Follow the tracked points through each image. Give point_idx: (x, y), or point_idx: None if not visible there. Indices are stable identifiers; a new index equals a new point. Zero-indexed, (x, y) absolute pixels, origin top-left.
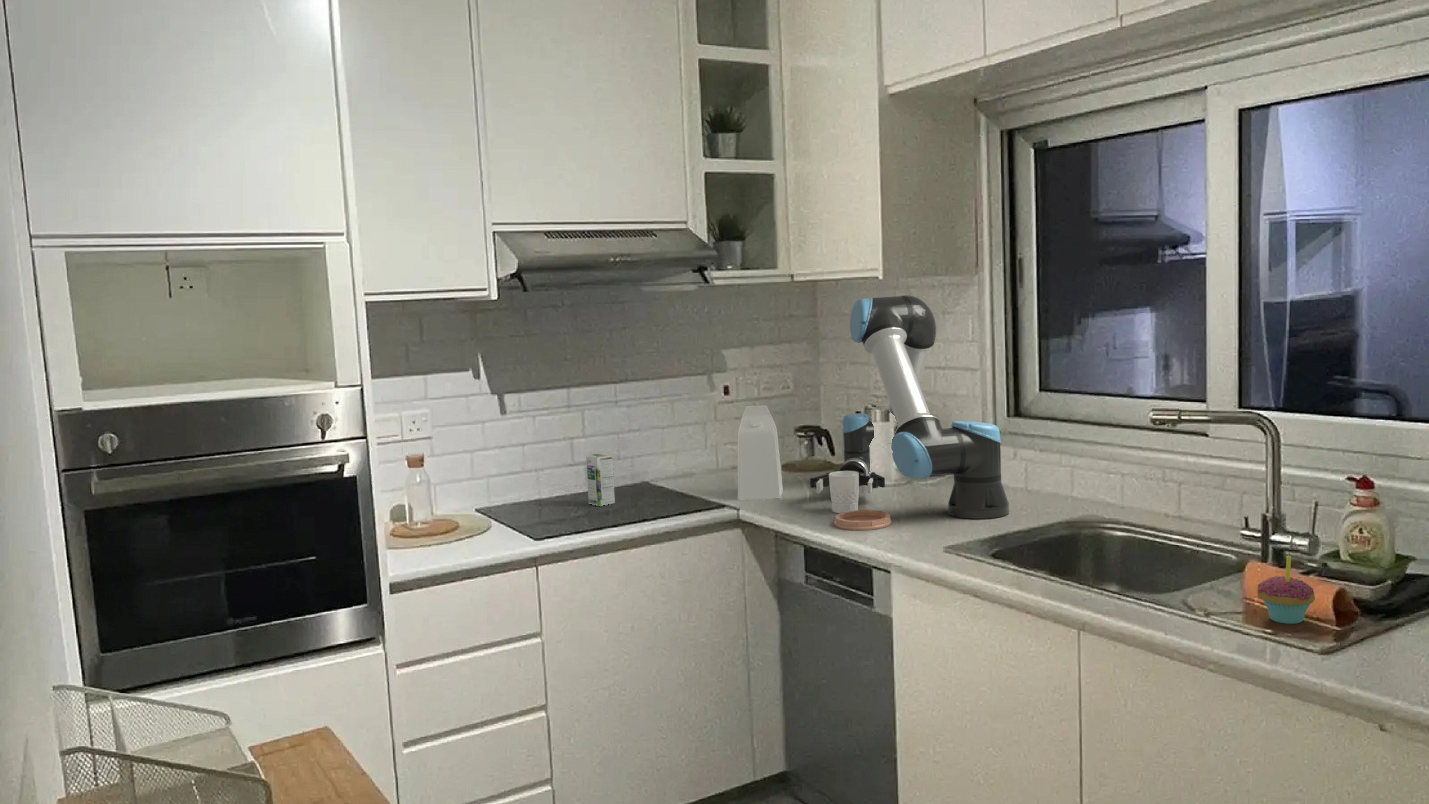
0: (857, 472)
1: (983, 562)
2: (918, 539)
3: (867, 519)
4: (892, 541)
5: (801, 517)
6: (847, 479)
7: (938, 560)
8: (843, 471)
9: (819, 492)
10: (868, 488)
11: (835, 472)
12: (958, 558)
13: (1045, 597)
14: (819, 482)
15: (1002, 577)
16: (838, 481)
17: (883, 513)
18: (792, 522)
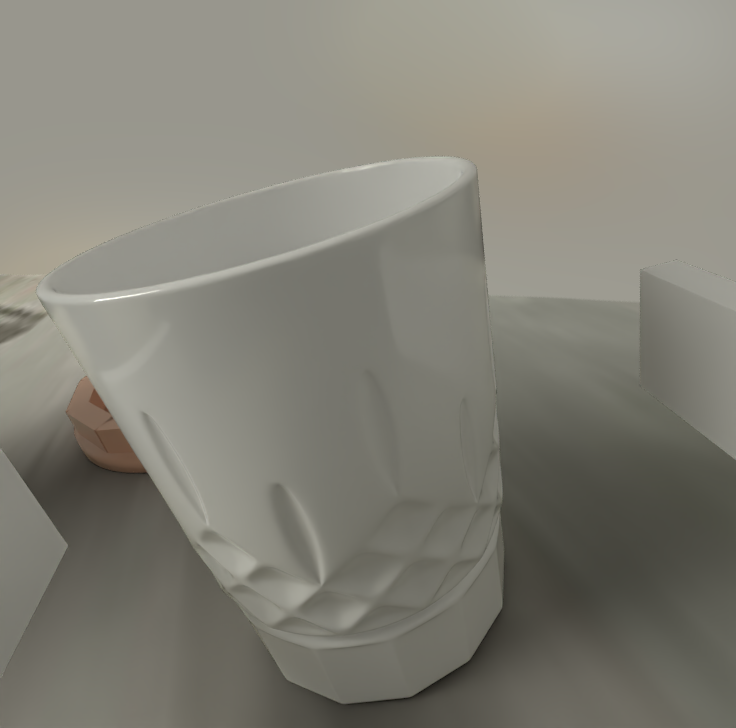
0: (48, 283)
1: (4, 308)
2: (64, 342)
3: None
4: None
5: (595, 358)
6: (225, 238)
7: None
8: (292, 258)
9: (642, 378)
10: (30, 505)
11: (428, 207)
12: (37, 305)
13: (9, 275)
14: (694, 289)
15: (18, 287)
16: (318, 231)
17: (93, 405)
18: (561, 304)
